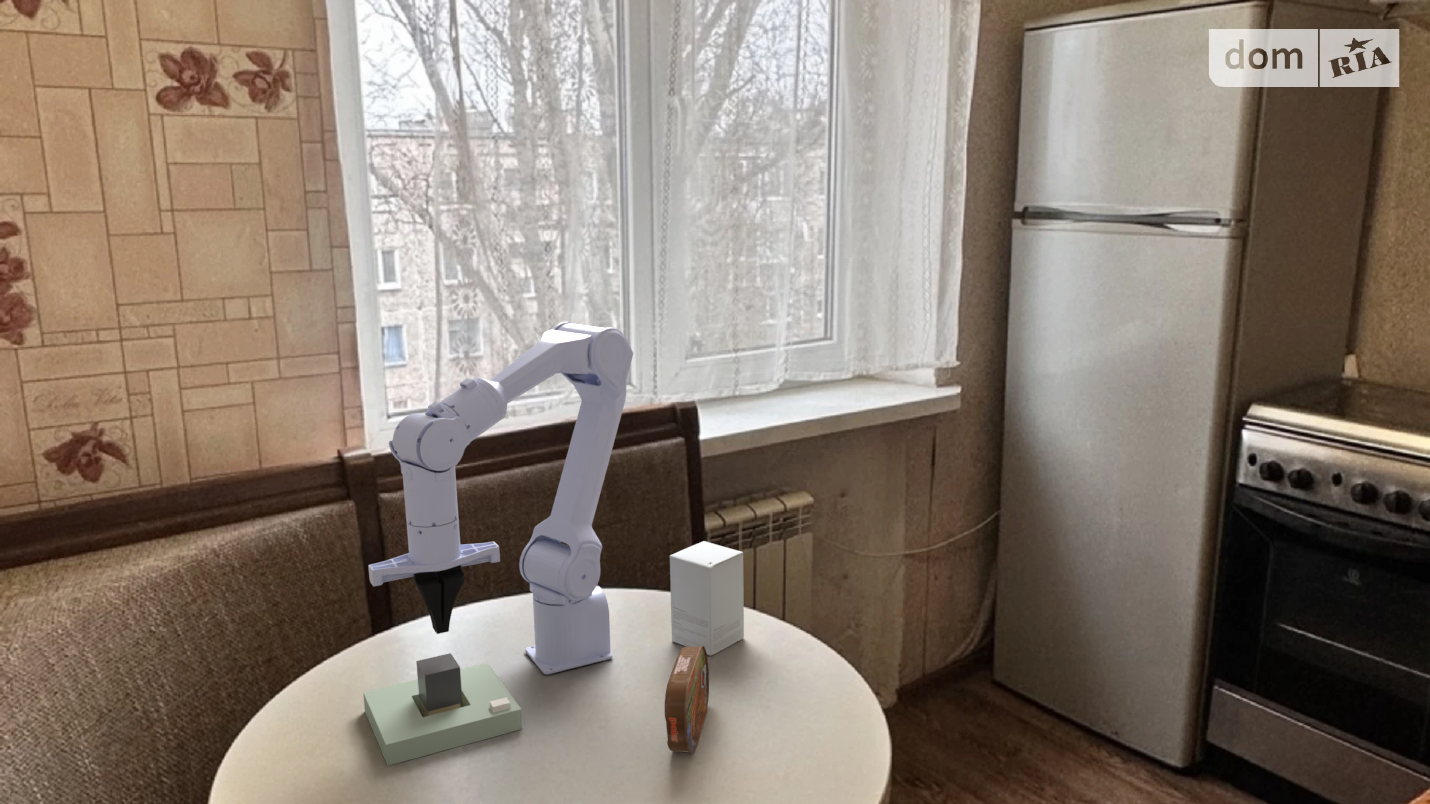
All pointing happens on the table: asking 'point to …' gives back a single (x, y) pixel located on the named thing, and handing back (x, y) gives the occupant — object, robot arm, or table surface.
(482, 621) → the table surface
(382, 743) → the socket panel
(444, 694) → the plug
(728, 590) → the supplement box
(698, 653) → the tin
